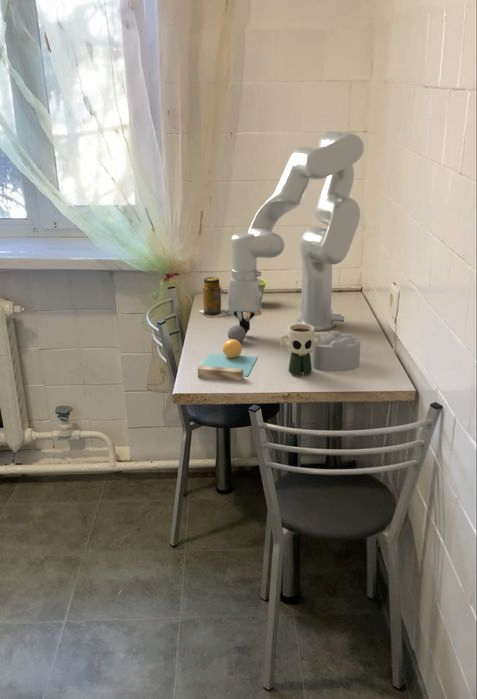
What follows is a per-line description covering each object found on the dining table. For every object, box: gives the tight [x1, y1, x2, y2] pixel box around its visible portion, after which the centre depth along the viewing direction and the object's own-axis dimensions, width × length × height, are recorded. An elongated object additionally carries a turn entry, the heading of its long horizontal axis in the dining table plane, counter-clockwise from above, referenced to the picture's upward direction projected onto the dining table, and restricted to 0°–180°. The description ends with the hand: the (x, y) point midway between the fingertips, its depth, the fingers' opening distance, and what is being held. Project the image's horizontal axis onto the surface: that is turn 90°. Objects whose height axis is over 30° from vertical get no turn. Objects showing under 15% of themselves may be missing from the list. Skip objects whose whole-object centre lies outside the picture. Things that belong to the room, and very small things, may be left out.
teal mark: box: [196, 352, 258, 377], centre depth 185 cm, size 14×14×1 cm
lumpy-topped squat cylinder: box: [311, 330, 361, 373], centre depth 183 cm, size 10×13×9 cm
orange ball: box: [222, 339, 243, 358], centre depth 189 cm, size 6×6×6 cm
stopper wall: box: [197, 365, 244, 382], centre depth 177 cm, size 12×2×2 cm, turn 78°
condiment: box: [198, 276, 229, 318], centre depth 226 cm, size 7×8×12 cm
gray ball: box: [227, 324, 247, 344], centre depth 200 cm, size 6×6×6 cm
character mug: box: [280, 323, 322, 376], centre depth 177 cm, size 11×7×13 cm, turn 94°
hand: (244, 332), depth 206 cm, fingers closed
